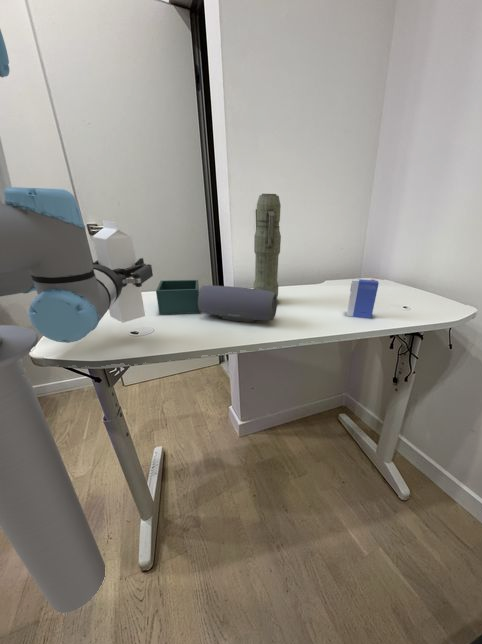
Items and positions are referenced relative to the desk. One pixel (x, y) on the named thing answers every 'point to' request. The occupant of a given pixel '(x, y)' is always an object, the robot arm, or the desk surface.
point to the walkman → (362, 298)
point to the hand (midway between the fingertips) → (123, 264)
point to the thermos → (267, 243)
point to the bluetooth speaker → (237, 303)
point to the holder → (178, 297)
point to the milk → (116, 254)
